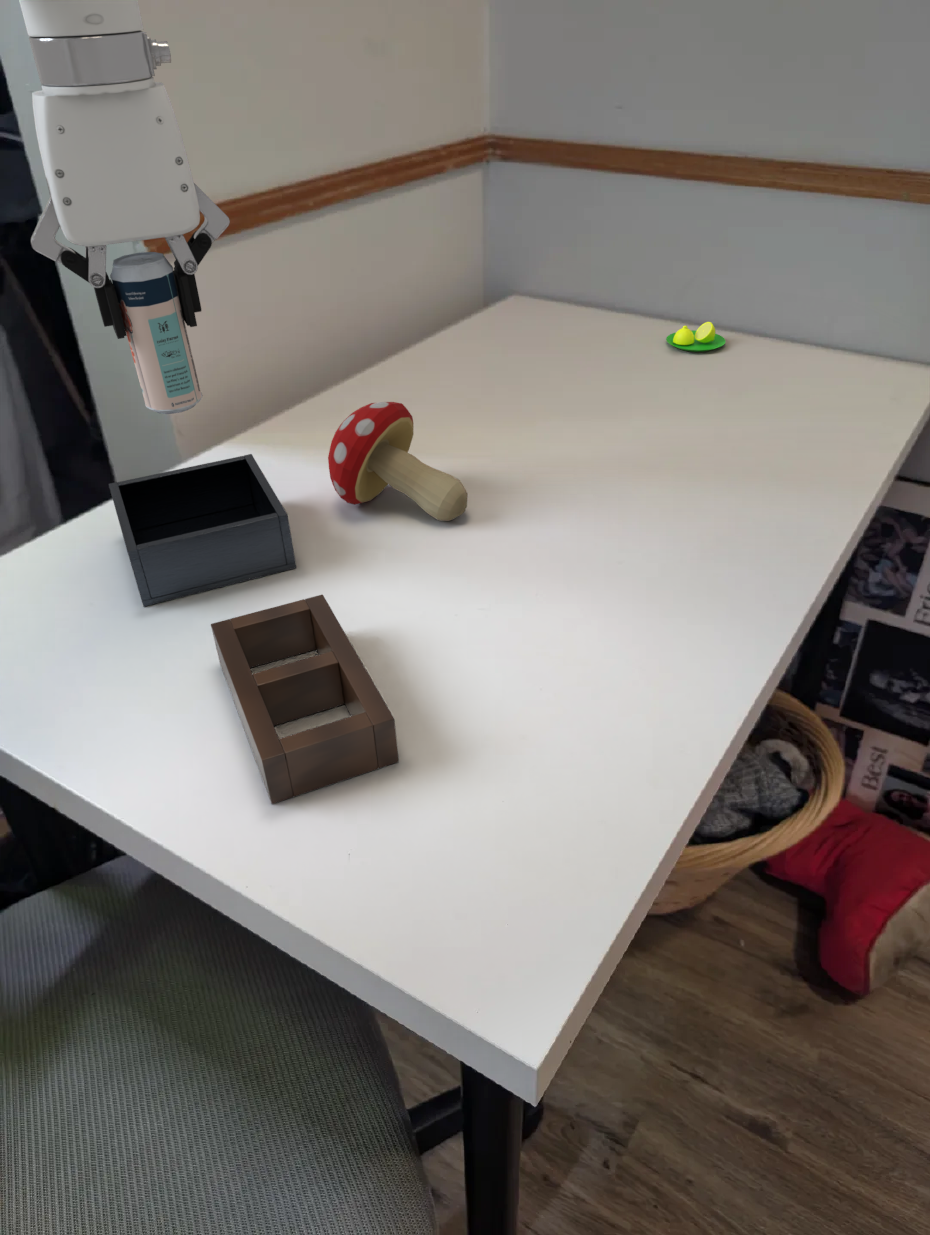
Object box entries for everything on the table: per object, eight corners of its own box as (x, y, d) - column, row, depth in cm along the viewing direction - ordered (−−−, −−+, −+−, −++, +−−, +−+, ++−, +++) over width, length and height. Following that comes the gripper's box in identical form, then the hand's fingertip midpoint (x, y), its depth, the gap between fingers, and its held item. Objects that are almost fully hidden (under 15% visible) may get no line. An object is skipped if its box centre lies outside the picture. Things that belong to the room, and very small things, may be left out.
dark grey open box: (143, 607, 79) (127, 551, 76) (123, 535, 89) (108, 483, 86) (296, 568, 83) (287, 514, 80) (260, 504, 94) (251, 453, 90)
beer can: (167, 392, 81) (131, 249, 73) (214, 396, 79) (182, 251, 72) (134, 414, 77) (93, 266, 70) (183, 419, 76) (146, 269, 68)
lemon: (707, 332, 131) (710, 312, 129) (735, 350, 125) (738, 329, 123) (655, 339, 129) (657, 318, 128) (681, 357, 123) (684, 337, 121)
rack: (271, 804, 60) (261, 760, 58) (220, 664, 72) (210, 623, 70) (399, 762, 63) (394, 718, 60) (328, 634, 75) (322, 593, 73)
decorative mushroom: (506, 465, 93) (387, 392, 96) (478, 452, 82) (344, 370, 85) (451, 559, 95) (336, 485, 98) (416, 559, 84) (288, 475, 87)
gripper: (207, 53, 69) (248, 299, 80) (-39, 71, 64) (41, 332, 74) (228, 60, 63) (270, 324, 74) (-40, 80, 58) (47, 361, 69)
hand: (154, 325), depth 74 cm, fingers closed on beer can, 4 cm apart
